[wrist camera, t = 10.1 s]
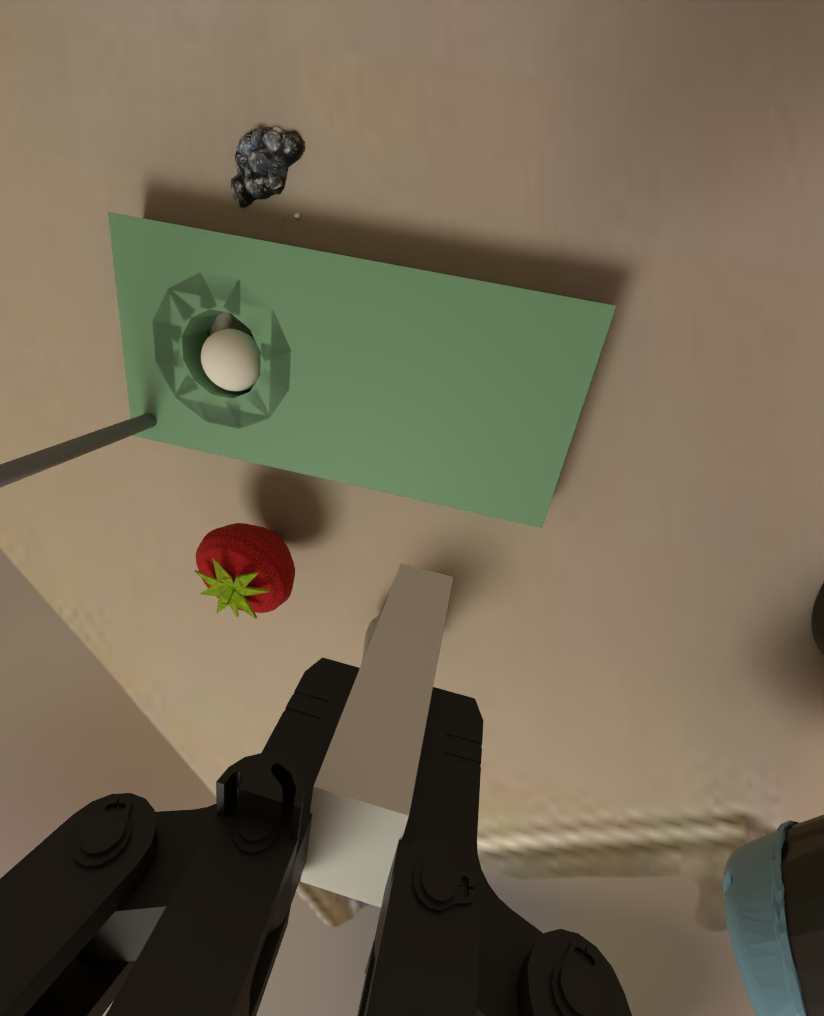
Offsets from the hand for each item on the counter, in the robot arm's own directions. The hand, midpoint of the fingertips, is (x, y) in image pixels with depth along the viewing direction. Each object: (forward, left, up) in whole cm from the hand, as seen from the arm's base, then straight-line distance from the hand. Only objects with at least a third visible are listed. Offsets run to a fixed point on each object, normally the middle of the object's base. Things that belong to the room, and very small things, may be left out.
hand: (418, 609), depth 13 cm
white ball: (+16, -1, -19) cm, 25 cm away
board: (+8, -2, -21) cm, 23 cm away
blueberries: (+15, -12, -22) cm, 29 cm away
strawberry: (+13, +13, -22) cm, 28 cm away
